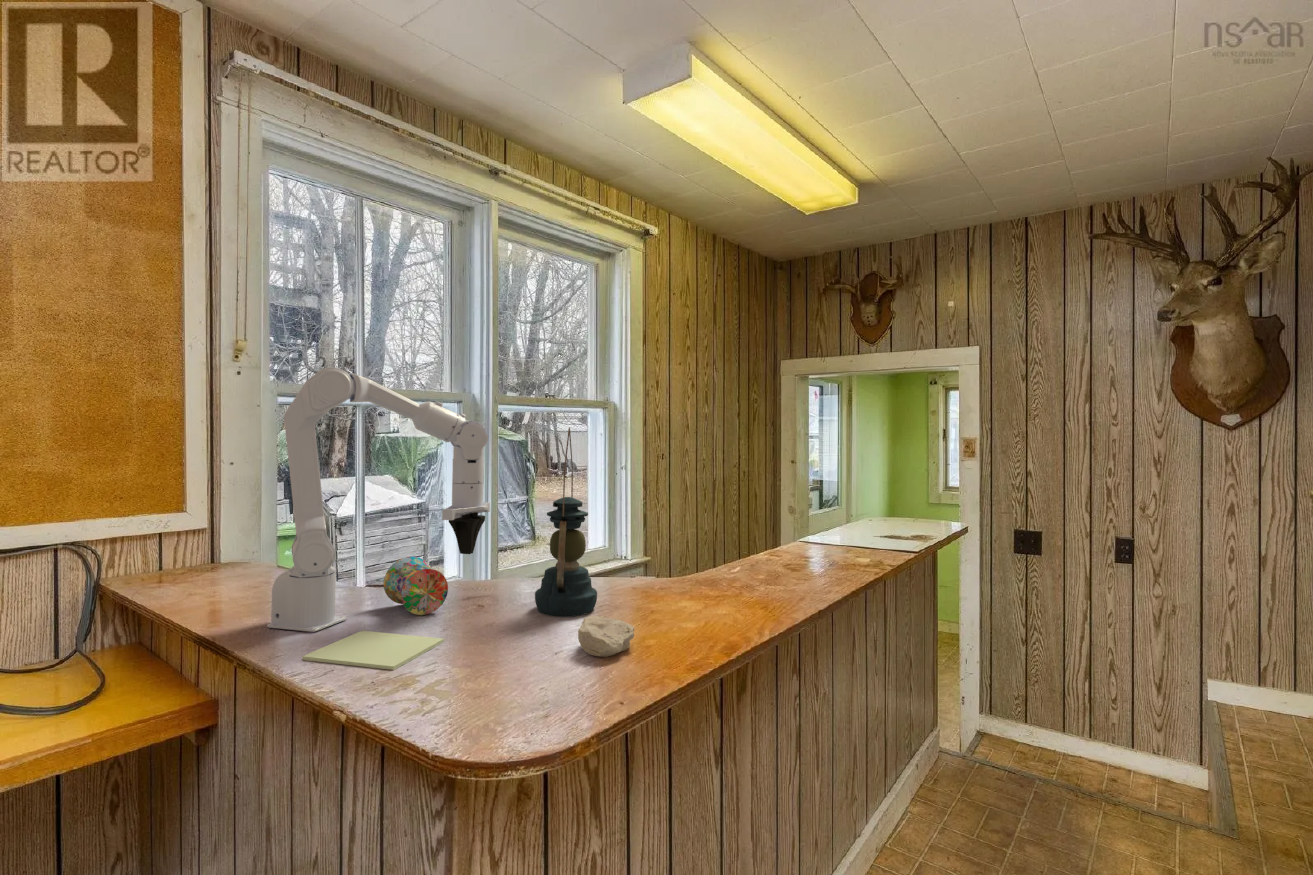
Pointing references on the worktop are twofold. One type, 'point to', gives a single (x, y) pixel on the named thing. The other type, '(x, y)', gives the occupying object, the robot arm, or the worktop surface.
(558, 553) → the lantern
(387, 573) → the mug
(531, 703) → the worktop surface
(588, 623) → the beige stone
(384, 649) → the mat
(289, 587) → the robot arm
